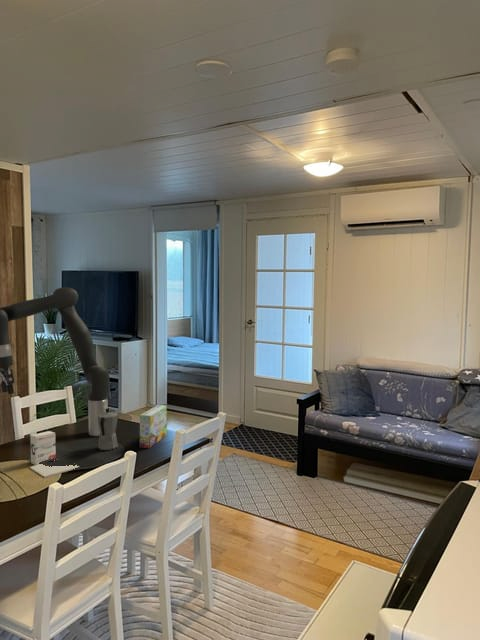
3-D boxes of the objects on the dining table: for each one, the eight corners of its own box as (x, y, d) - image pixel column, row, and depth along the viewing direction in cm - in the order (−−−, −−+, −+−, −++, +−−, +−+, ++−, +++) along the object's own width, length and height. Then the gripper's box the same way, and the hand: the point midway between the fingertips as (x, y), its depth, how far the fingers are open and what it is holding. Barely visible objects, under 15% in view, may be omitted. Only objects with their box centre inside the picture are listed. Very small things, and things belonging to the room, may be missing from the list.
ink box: (50, 457, 198) (49, 430, 197) (56, 460, 195) (55, 432, 194) (30, 463, 191) (29, 434, 191) (36, 465, 188) (35, 437, 187)
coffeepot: (102, 443, 217) (101, 404, 216) (122, 443, 217) (121, 405, 216) (91, 454, 202) (90, 413, 201) (112, 454, 202) (112, 413, 201)
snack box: (150, 448, 209) (150, 415, 209) (139, 447, 211) (138, 414, 210) (167, 435, 230) (167, 404, 229) (156, 434, 231) (156, 404, 231)
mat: (63, 459, 195) (63, 458, 195) (79, 467, 186) (79, 466, 186) (29, 468, 185) (29, 466, 185) (44, 477, 176) (44, 476, 176)
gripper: (16, 354, 196) (22, 392, 197) (6, 353, 207) (12, 389, 208) (-3, 357, 191) (3, 396, 192) (-12, 356, 202) (-6, 393, 203)
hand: (8, 392), depth 200 cm, fingers open, 8 cm apart
